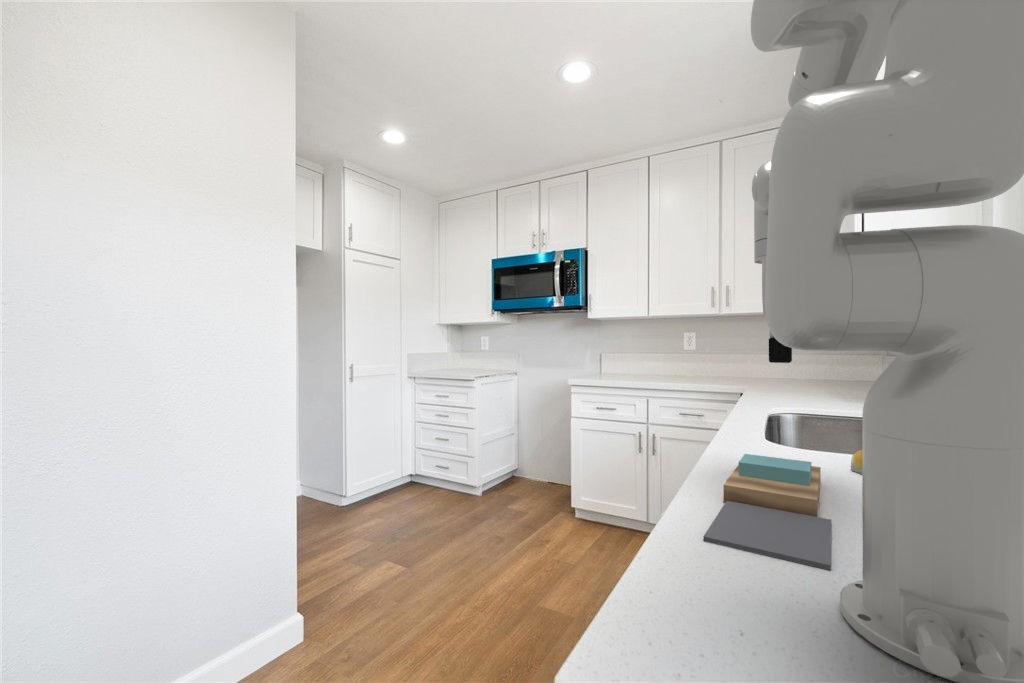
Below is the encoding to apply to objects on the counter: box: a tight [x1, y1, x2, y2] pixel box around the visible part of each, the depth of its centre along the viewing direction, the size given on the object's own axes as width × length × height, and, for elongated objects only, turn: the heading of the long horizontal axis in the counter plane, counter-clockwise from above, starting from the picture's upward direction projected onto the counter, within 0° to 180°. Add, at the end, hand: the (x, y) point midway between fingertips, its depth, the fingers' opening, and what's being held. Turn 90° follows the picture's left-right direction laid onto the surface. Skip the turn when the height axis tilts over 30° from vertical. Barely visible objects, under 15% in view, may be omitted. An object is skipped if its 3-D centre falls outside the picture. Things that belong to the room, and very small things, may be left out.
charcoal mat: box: [702, 501, 832, 571], centre depth 55 cm, size 14×12×1 cm
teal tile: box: [738, 453, 812, 486], centre depth 69 cm, size 6×9×2 cm, turn 55°
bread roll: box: [850, 449, 862, 475], centre depth 79 cm, size 8×9×4 cm
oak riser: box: [723, 464, 822, 517], centre depth 69 cm, size 18×11×2 cm, turn 145°
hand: (780, 362), depth 76 cm, fingers closed
